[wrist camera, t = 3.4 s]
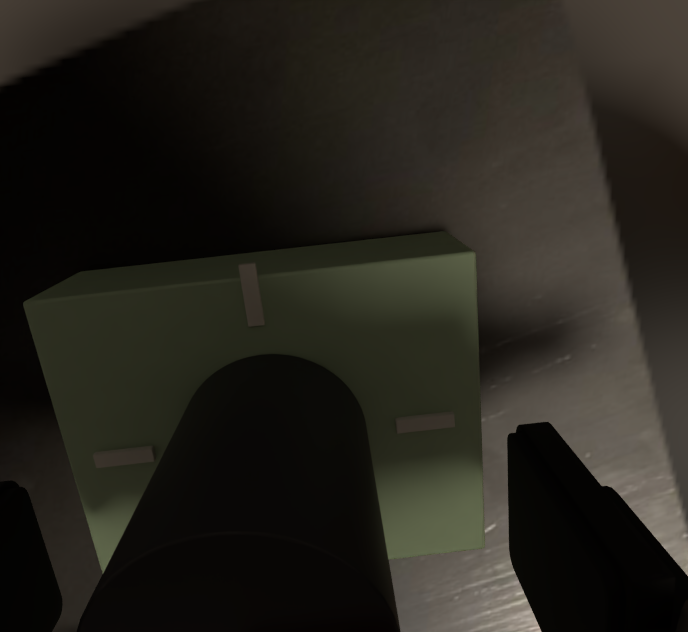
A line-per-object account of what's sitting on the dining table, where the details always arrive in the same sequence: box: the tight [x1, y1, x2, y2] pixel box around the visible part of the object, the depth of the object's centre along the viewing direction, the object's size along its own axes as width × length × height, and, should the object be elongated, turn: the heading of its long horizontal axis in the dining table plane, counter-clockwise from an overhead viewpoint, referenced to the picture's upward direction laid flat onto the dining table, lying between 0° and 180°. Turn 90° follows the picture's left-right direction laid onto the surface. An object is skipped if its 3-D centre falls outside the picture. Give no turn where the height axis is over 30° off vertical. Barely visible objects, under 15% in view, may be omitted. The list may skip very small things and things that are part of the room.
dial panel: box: [23, 231, 485, 573], centre depth 14 cm, size 10×9×3 cm
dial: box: [77, 354, 400, 632], centre depth 10 cm, size 4×4×6 cm
